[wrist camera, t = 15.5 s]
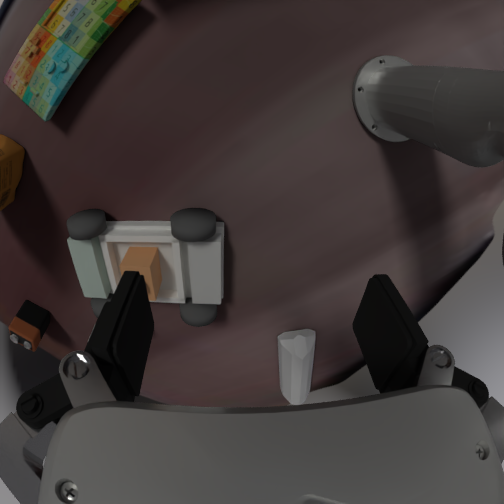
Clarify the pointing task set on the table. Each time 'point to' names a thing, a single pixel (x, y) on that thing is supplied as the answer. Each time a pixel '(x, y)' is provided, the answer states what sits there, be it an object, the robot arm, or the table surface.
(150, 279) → the box with black knob
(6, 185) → the coffee package
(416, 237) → the table surface
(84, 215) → the chassis
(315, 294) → the table surface
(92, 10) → the puzzle game
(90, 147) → the table surface
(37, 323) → the battery
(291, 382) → the crystal
